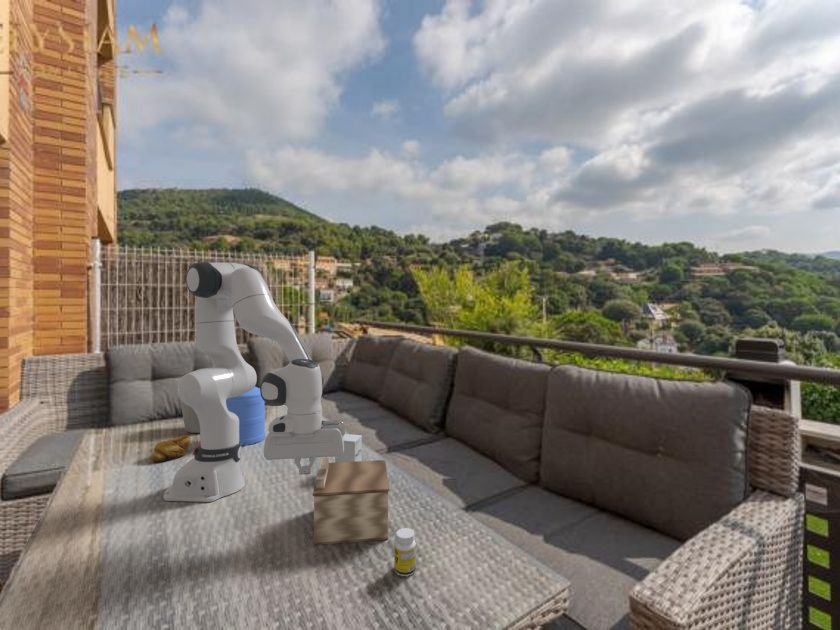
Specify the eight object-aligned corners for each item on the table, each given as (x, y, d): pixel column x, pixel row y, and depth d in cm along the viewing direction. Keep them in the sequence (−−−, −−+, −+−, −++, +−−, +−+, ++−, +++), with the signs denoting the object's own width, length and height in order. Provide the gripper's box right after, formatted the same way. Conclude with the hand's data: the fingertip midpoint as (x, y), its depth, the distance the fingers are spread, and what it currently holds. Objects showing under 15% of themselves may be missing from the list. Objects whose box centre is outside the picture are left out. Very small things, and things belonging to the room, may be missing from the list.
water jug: (272, 438, 173) (272, 374, 173) (239, 449, 160) (239, 380, 160) (250, 432, 182) (250, 371, 181) (217, 441, 169) (217, 376, 168)
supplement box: (354, 478, 134) (354, 441, 133) (334, 476, 135) (334, 440, 135) (362, 470, 141) (362, 434, 141) (342, 468, 142) (342, 433, 142)
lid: (312, 496, 96) (312, 483, 96) (320, 465, 114) (320, 455, 114) (389, 491, 99) (389, 479, 99) (385, 462, 117) (385, 451, 117)
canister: (197, 423, 195) (197, 380, 194) (231, 425, 192) (231, 381, 192) (169, 435, 177) (169, 388, 176) (206, 437, 174) (206, 389, 174)
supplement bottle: (394, 563, 90) (394, 527, 90) (414, 562, 90) (415, 526, 90) (394, 578, 85) (394, 539, 85) (416, 577, 86) (416, 538, 85)
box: (313, 545, 96) (314, 496, 96) (321, 507, 114) (321, 466, 114) (387, 539, 99) (388, 491, 99) (383, 503, 117) (384, 463, 117)
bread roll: (155, 466, 143) (155, 444, 143) (144, 460, 149) (144, 438, 149) (192, 455, 154) (192, 434, 153) (181, 450, 159) (181, 430, 159)
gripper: (345, 416, 109) (345, 466, 109) (267, 419, 106) (268, 470, 106) (344, 423, 103) (344, 476, 103) (261, 426, 100) (262, 481, 100)
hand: (305, 473), depth 104 cm, fingers closed
